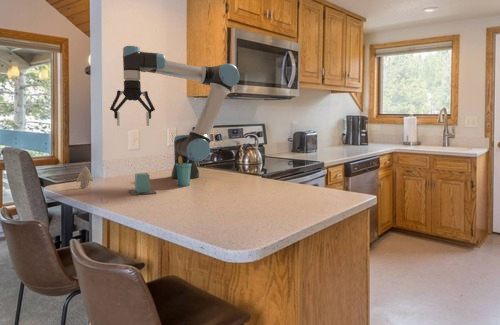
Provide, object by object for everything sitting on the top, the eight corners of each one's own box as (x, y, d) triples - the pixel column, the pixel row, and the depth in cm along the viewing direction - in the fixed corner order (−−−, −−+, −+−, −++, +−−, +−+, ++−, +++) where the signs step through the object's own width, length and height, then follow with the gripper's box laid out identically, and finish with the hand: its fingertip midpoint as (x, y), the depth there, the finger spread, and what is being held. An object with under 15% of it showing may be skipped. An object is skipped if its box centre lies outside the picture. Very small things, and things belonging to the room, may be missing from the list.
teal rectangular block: (147, 189, 176) (146, 173, 175) (149, 191, 171) (149, 174, 170) (135, 190, 173) (134, 173, 172) (137, 192, 169) (137, 175, 168)
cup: (200, 186, 188) (200, 155, 186) (187, 188, 182) (187, 156, 181) (182, 183, 197) (182, 153, 196) (169, 184, 192) (169, 154, 190)
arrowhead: (78, 189, 179) (77, 167, 177) (75, 188, 180) (74, 167, 179) (94, 187, 184) (93, 166, 183) (92, 186, 186) (91, 165, 185)
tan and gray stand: (151, 189, 179) (151, 174, 178) (156, 193, 170) (156, 177, 169) (128, 191, 175) (128, 175, 174) (132, 195, 166) (132, 179, 165)
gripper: (156, 82, 192) (157, 125, 195) (102, 79, 181) (104, 125, 184) (160, 81, 185) (161, 126, 188) (104, 78, 174) (106, 126, 177)
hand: (133, 126), depth 186 cm, fingers open, 13 cm apart
